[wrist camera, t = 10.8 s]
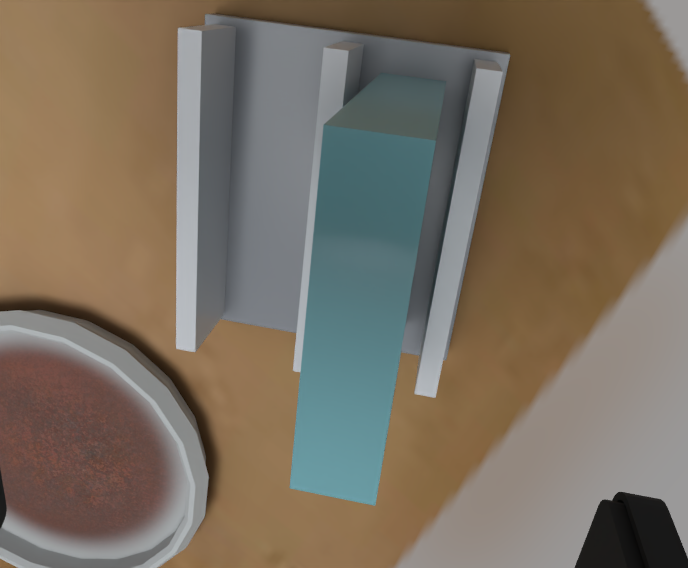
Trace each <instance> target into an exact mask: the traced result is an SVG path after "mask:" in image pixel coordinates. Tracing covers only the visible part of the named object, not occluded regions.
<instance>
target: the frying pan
mask: <svg viewBox="0 0 688 568" xmlns="http://www.w3.org/2000/svg"><path fill="white" fill-rule="evenodd" d="M205 462H206V455H205V451H204V447H203V444H202V440H201V437H200V433H199V429H198V426H197V422H196V419H195V416H194V415H193V413H192V412H191V410H190V409H189V407H188V405H187V404H186V402H185V401H184V399H183V398H182V396H181V395H180V393H179V391H178V390H177V388H176V387H175V385H174V384H173V382H172V381H171V379H170V378H169V377H168V376H167V375H166V374H165V373H164V372H162V371H161V370H160V369H159V368H158V367H157V366H156V365H155V364H154V363H153V362H151V361H150V360H149V359H148V358H147V357H146V356H145V355H144V354H143V353H142V352H140V351H139V350H138V349H137V348H136V347H135V346H134V345H133V344H131V343H129V342H127V341H125V340H123V339H121V338H119V337H118V336H116V335H114V334H112V333H110V332H108V331H106V330H104V329H103V328H101V327H99V326H97V325H95V324H93V323H91V322H89V321H87V320H83V319H78V318H74V317H70V316H66V315H61V314H57V313H53V312H48V311H44V310H31V311H22V310H15V311H1V312H0V470H1V476H2V481H3V487H4V493H5V499H6V505H7V512H6V517H5V520H4V523H3V525H2V527H1V528H0V559H2V560H4V561H6V562H8V563H10V564H12V565H14V566H16V567H18V568H158V567H160V566H161V565H163V564H164V563H165V562H167V561H168V560H170V559H171V558H172V557H174V556H175V555H177V554H178V553H179V552H181V551H182V550H183V549H185V548H186V547H187V546H188V544H189V542H190V541H191V539H192V537H193V536H194V534H195V532H196V530H197V529H198V527H199V525H200V524H201V522H202V520H203V519H204V517H205V511H206V500H207V490H208V480H209V476H208V472H207V468H206V465H205Z"/></svg>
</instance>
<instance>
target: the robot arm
mask: <svg viewBox="0 0 688 568" xmlns="http://www.w3.org/2000/svg"><path fill="white" fill-rule="evenodd" d="M6 512H7V505H6V499H5V493H4V487H3V481H2V476H1V470H0V528H1V527H2V525H3V523H4V520H5V517H6ZM575 568H688V558H687V556H686V553H685V551H684V548H683V546H682V543H681V540H680V538H679V535H678V533H677V530H676V528H675V525H674V523H673V520H672V518H671V515H670V513H669V510H668V508H667V506H666V504H665V503H664V502H663V501H662V500H661V499H656V498H651V497H645V496H640V495H635V494H630V493H624V492H618V493H617V494H616V495H615V496H614V498H613V500H612V501H610V500H602V501H601V502H600V504H599V506H598V508H597V512H596V514H595V516H594V519H593V521H592V524H591V527H590V529H589V532H588V535H587V537H586V540H585V542H584V545H583V547H582V550H581V553H580V555H579V558H578V560H577V563H576V566H575Z"/></svg>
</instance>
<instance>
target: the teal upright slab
mask: <svg viewBox="0 0 688 568" xmlns="http://www.w3.org/2000/svg"><path fill="white" fill-rule="evenodd" d="M445 87H446V81H441V80H433V79H426V78H418V77H410V76H403V75H395V74H388V73H380V74H379V75H378V76H377V77H376V78H375V79H374V80H372V81H371V82H370V83H369V84H368V85H367V86H366V87H365V88H364V89H363V90H361V91H360V92H359V93H358V94H357V95H356V96H355V97H354V98H353V99H351V100H350V101H349V102H348V103H347V104H346V105H345V106H344V107H343V108H342V109H340V110H339V111H338V112H337V113H336V114H335V115H334V116H333V117H332V118H330V119H329V120H328V121H327V122H326V123H325V124H324V125H323V136H322V146H321V157H320V168H319V179H318V189H317V200H316V211H315V222H314V232H313V243H312V254H311V265H310V275H309V286H308V297H307V308H306V318H305V329H304V340H303V351H302V361H301V372H300V383H299V394H298V404H297V415H296V426H295V437H294V447H293V458H292V469H291V480H290V488H291V489H296V490H301V491H306V492H311V493H316V494H321V495H326V496H330V497H335V498H340V499H345V500H350V501H355V502H360V503H365V504H370V505H375V504H376V498H377V492H378V486H379V480H380V474H381V468H382V462H383V457H384V451H385V445H386V439H387V433H388V427H389V421H390V415H391V409H392V403H393V397H394V392H395V386H396V380H397V374H398V368H399V362H400V356H401V350H402V344H403V338H404V333H405V327H406V321H407V315H408V309H409V303H410V297H411V291H412V285H413V279H414V273H415V267H416V261H417V255H418V249H419V243H420V237H421V231H422V225H423V219H424V213H425V207H426V201H427V195H428V189H429V183H430V177H431V171H432V165H433V159H434V153H435V147H436V141H437V135H438V129H439V123H440V117H441V111H442V105H443V99H444V93H445Z"/></svg>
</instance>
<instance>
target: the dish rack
mask: <svg viewBox="0 0 688 568" xmlns="http://www.w3.org/2000/svg"><path fill="white" fill-rule="evenodd" d="M509 59H510V54H509V53H508V52H500V51H493V50H485V49H478V48H470V47H463V46H455V45H448V44H440V43H433V42H425V41H418V40H410V39H402V38H395V37H387V36H380V35H372V34H365V33H357V32H350V31H342V30H335V29H327V28H320V27H312V26H305V25H297V24H289V23H282V22H274V21H267V20H259V19H252V18H244V17H237V16H229V15H222V14H205V25H201V26H190V27H180V28H178V96H177V270H176V349H180V350H185V351H191V352H196V351H197V349H198V348H199V347H200V345H201V344H202V343H203V341H204V340H205V339H206V337H207V336H208V335H209V333H210V332H211V331H212V329H213V328H214V327H215V325H216V324H217V323H218V322H219V320H220V319H223V320H228V321H234V322H239V323H245V324H250V325H256V326H261V327H267V328H272V329H278V330H283V331H289V332H294V333H297V334H296V344H295V355H294V365H293V371H296V372H301V361H302V351H303V340H304V329H305V318H306V308H307V297H308V286H309V275H310V265H311V254H312V243H313V232H314V222H315V211H316V200H317V189H318V179H319V168H320V157H321V146H322V136H323V125H324V124H325V123H326V122H327V121H328V120H329V119H330V118H332V117H333V116H334V115H335V114H336V113H337V112H338V111H339V110H340V109H342V108H343V107H344V106H345V105H346V104H347V103H348V102H349V101H350V100H351V99H353V98H354V97H355V96H356V95H357V94H358V93H359V92H360V91H361V90H363V89H364V88H365V87H366V86H367V85H368V84H369V83H370V82H371V81H372V80H374V79H375V78H376V77H377V76H378V75H379V74H380V73H388V74H395V75H403V76H410V77H418V78H426V79H433V80H441V81H446V87H445V93H444V99H443V105H442V111H441V117H440V123H439V129H438V135H437V141H436V147H435V153H434V159H433V165H432V171H431V177H430V183H429V189H428V195H427V201H426V207H425V213H424V219H423V225H422V231H421V237H420V243H419V249H418V255H417V261H416V267H415V273H414V279H413V285H412V291H411V297H410V303H409V309H408V315H407V321H406V327H405V333H404V338H403V344H402V350H401V352H403V353H409V354H414V355H419V360H418V369H417V377H416V386H415V394H418V395H423V396H428V397H434V398H435V397H436V392H437V387H438V382H439V378H440V373H441V368H442V363H443V360H446V359H447V354H448V349H449V344H450V340H451V335H452V330H453V325H454V321H455V316H456V311H457V306H458V302H459V297H460V292H461V287H462V283H463V278H464V273H465V268H466V263H467V259H468V254H469V249H470V244H471V240H472V235H473V230H474V225H475V221H476V216H477V211H478V206H479V202H480V197H481V192H482V187H483V182H484V178H485V173H486V168H487V163H488V159H489V154H490V149H491V144H492V140H493V135H494V130H495V125H496V121H497V116H498V111H499V106H500V101H501V97H502V92H503V87H504V82H505V78H506V73H507V68H508V63H509Z"/></svg>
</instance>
